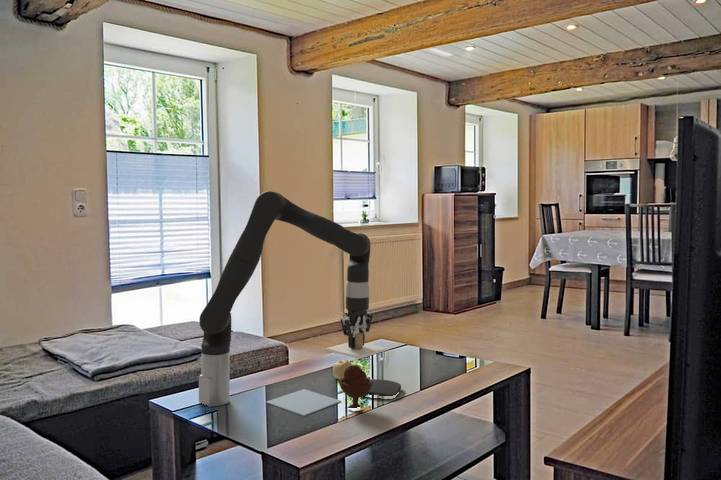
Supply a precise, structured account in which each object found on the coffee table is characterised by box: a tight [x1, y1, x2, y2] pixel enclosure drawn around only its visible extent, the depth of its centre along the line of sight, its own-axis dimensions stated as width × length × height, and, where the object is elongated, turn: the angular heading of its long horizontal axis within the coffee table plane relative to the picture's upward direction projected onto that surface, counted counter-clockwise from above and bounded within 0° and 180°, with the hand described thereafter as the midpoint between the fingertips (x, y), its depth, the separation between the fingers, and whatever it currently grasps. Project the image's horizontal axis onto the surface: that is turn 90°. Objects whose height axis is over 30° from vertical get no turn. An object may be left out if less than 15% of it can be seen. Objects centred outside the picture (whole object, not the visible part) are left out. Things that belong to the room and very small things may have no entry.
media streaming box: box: [364, 378, 402, 396], centre depth 219 cm, size 15×15×3 cm
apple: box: [332, 359, 353, 381], centre depth 233 cm, size 8×8×8 cm
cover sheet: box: [325, 331, 387, 360], centre depth 199 cm, size 14×14×6 cm
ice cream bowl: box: [338, 364, 373, 408], centre depth 200 cm, size 11×11×15 cm
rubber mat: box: [265, 388, 342, 417], centre depth 206 cm, size 18×18×1 cm
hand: (356, 346), depth 199 cm, fingers closed on cover sheet, 4 cm apart
